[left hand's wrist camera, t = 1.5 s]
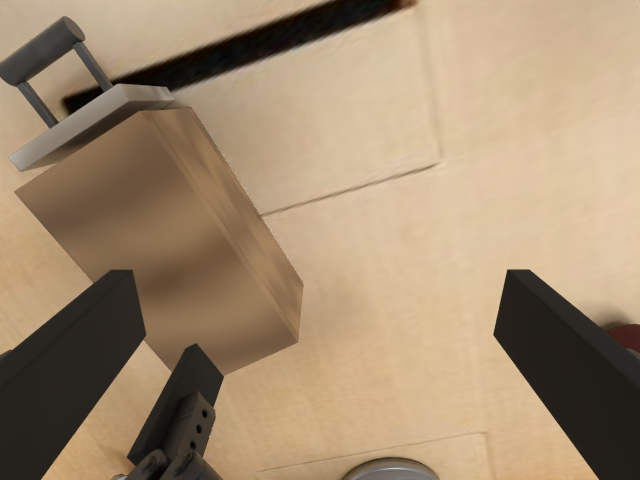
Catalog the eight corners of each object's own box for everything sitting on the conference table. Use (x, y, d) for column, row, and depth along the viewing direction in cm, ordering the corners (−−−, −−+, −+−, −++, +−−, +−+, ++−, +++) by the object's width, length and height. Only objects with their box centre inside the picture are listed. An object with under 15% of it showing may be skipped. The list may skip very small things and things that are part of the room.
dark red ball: (580, 371, 43) (627, 421, 36) (581, 319, 40) (632, 362, 34) (645, 359, 42) (704, 407, 36) (650, 305, 40) (716, 346, 33)
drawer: (30, 80, 30) (-63, 75, 23) (121, 16, 29) (52, -12, 21) (202, 304, 39) (174, 353, 31) (281, 264, 37) (271, 306, 30)
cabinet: (96, 166, 34) (13, 191, 25) (191, 107, 32) (139, 110, 23) (218, 325, 41) (188, 391, 32) (303, 284, 39) (298, 342, 30)
